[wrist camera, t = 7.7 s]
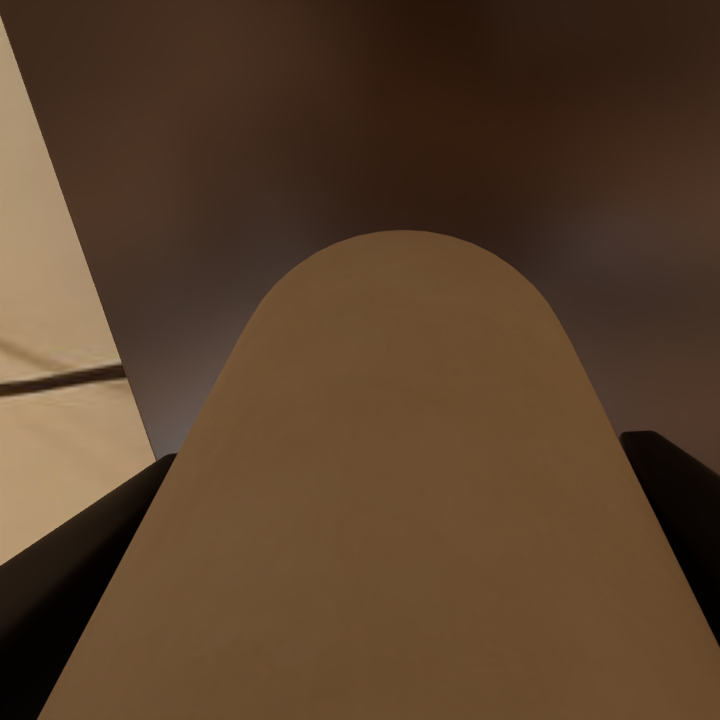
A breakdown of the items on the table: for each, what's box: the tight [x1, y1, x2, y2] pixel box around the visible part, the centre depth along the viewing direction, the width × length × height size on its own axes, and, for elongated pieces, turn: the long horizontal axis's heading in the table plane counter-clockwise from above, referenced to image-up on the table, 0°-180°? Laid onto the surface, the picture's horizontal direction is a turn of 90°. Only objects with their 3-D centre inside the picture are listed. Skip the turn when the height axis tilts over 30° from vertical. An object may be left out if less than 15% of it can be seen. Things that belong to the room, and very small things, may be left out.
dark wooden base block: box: [0, 0, 720, 475], centre depth 15 cm, size 14×14×2 cm
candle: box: [37, 230, 720, 720], centre depth 7 cm, size 6×6×10 cm
